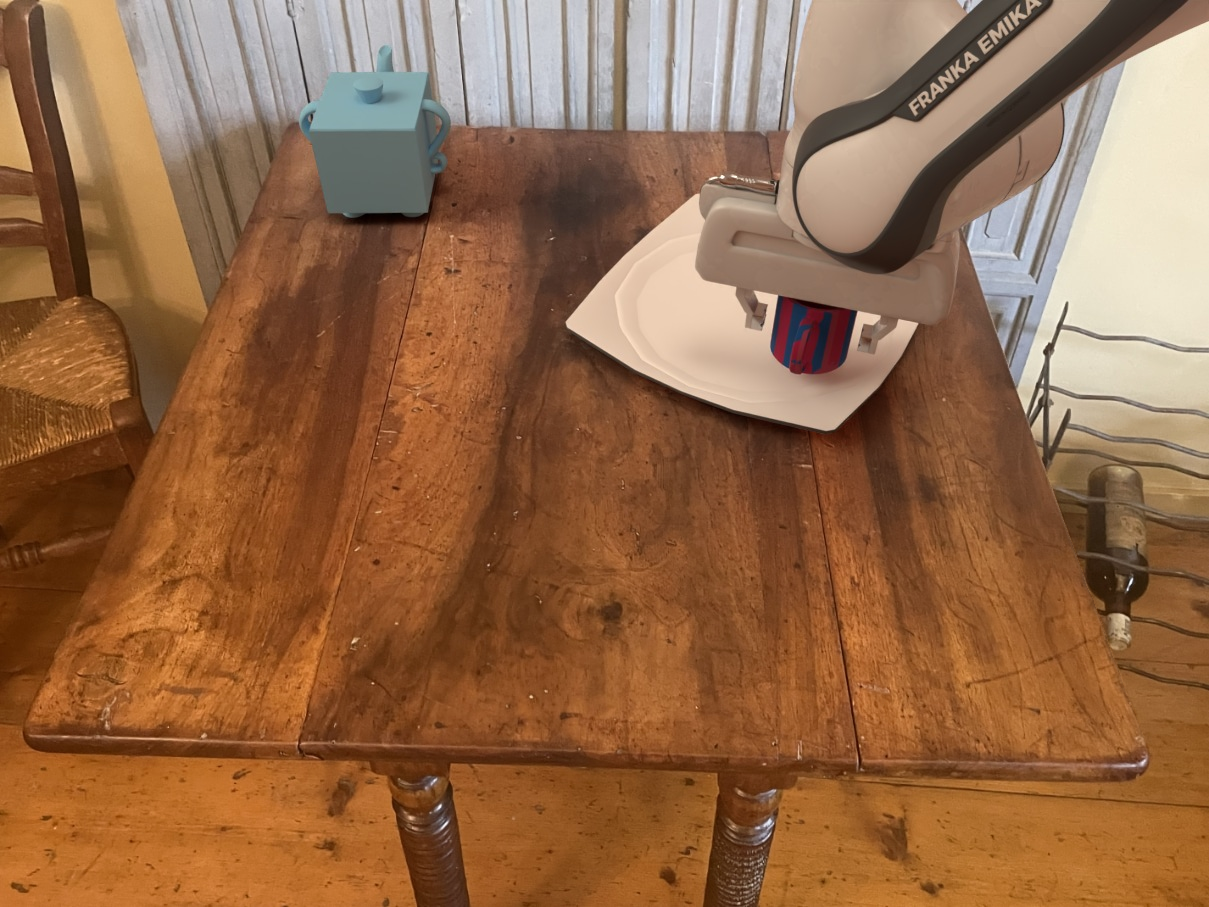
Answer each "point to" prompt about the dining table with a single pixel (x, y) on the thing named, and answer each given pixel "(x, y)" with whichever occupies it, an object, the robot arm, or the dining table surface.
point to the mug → (811, 335)
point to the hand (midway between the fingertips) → (810, 336)
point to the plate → (719, 336)
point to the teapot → (377, 140)
